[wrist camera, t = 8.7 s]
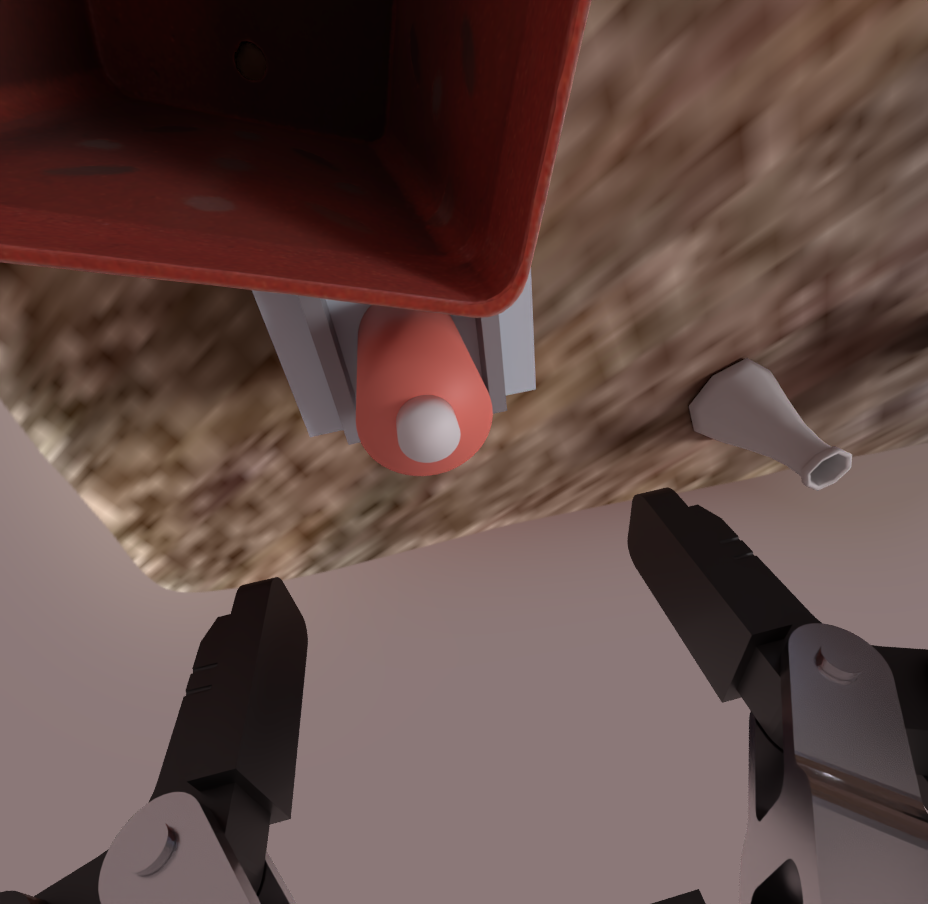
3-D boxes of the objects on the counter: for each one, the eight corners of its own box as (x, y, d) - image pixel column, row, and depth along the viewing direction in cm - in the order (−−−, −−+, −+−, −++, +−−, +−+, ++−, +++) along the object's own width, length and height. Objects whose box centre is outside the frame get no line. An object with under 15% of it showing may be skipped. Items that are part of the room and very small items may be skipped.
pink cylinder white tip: (345, 301, 20) (335, 388, 13) (447, 281, 20) (491, 355, 13) (372, 393, 23) (376, 506, 16) (462, 374, 23) (505, 476, 16)
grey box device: (267, 241, 25) (227, 287, 17) (486, 203, 26) (540, 230, 18) (314, 373, 30) (299, 455, 22) (497, 336, 31) (545, 402, 23)
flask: (750, 340, 35) (868, 402, 27) (782, 393, 39) (895, 461, 30) (672, 406, 37) (760, 481, 29) (710, 450, 41) (797, 527, 33)
